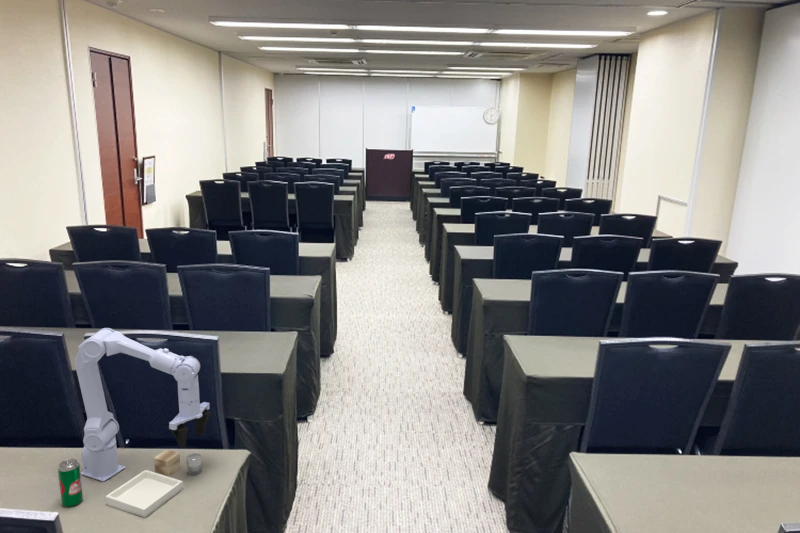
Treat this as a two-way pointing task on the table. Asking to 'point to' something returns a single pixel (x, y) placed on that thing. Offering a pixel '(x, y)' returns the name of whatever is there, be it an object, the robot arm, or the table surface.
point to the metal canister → (194, 464)
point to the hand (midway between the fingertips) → (191, 440)
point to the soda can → (70, 483)
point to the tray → (144, 493)
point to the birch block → (167, 462)
